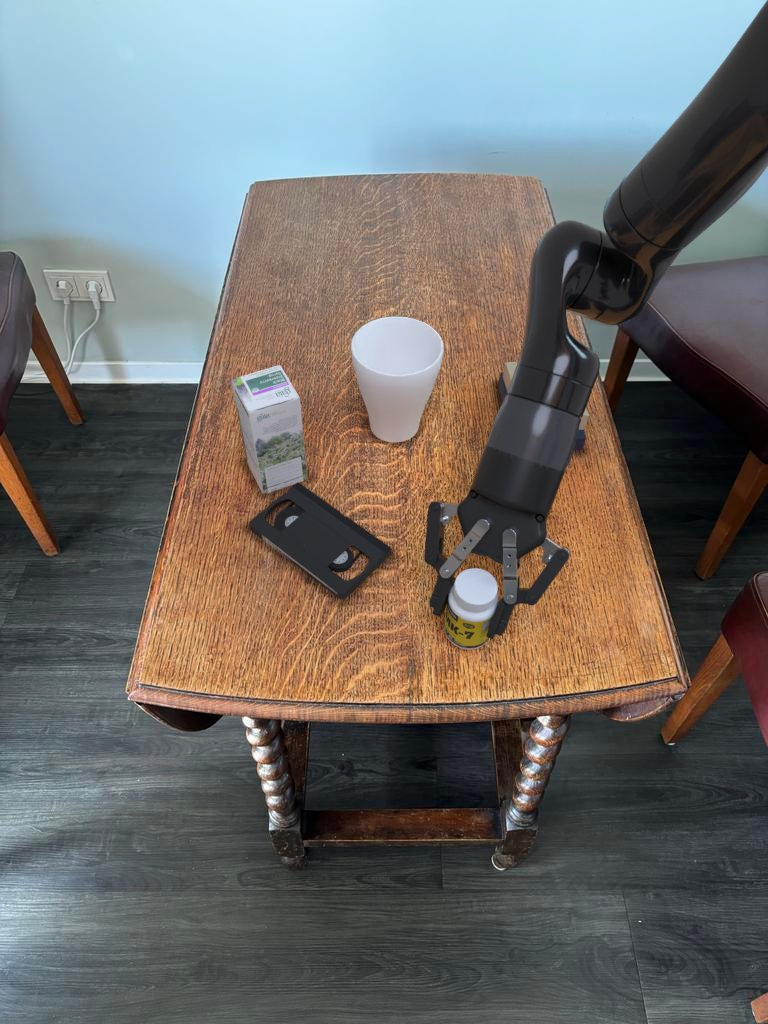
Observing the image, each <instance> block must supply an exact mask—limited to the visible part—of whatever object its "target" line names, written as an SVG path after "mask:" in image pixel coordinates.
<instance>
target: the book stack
mask: <svg viewBox="0 0 768 1024" xmlns="http://www.w3.org/2000/svg"><path fill="white" fill-rule="evenodd" d="M517 363H518V361H506V362H505V363H504V367H503V371H501V372H499V377H498V383H497V388H498V392H499V399H500V404H501V405H502V403H503V401H504V399H505V396H506V395H508V394H507V392H508V389H509V386H510V383H511V380H512V377H513V375H514V372H515V369H516V366H517ZM501 405H500V406H501ZM589 417H590V414H589V411H588V409H587V408H586V409H585V411H584V414H583V417H582V418H581V422H580V426H579V430H578V435H577V439H576V443H575V446H574V449H573V451H583V448H584V446H585V443H586V439H587V436H586V432H585V429H586V426H587V423H588V421H589Z"/></svg>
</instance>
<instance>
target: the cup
mask: <svg viewBox="0 0 768 1024" xmlns="http://www.w3.org/2000/svg"><path fill="white" fill-rule="evenodd" d="M350 352H351V353H350V354H351V361H352V366H353V370H354V375H355V378H356V382H357V386H358V389H359V392H360V395H361V398H362V400H363V402H364V405H365V408H366V412H367V415H368V422H369V428H370V431H371V432H372V434H373V435H374V436H375V437H377V439H379V440H382V441H384V442H386V443H395V444H397V443H402V442H407V441H409V440H410V439H412V438H413V437H414V436H416V434H417V433H418V431H419V427H420V423H421V418H422V416H423V413H424V410H425V407H426V405H427V403H428V401H429V399H430V397H431V395H432V392H433V390H434V387H435V384H436V381H437V378H438V376H439V374H440V370H441V366H442V362H443V357H444V342H443V339H442V336H441V335H440V334H439V333H438V332H437V330H436V329H435V328H434V327H432V326H430V325H429V324H427V323H426V322H424V321H421V320H419V319H416V318H412V317H407V316H396V315H395V316H394V315H393V316H386V317H385V316H384V317H380V318H376V319H373V320H370V321H369V322H367V323H365V324H363V325H362V326H361V327H360V328H359V329H357V330H356V331H355V333H354V334H353V337H352V338H351V343H350Z"/></svg>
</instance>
